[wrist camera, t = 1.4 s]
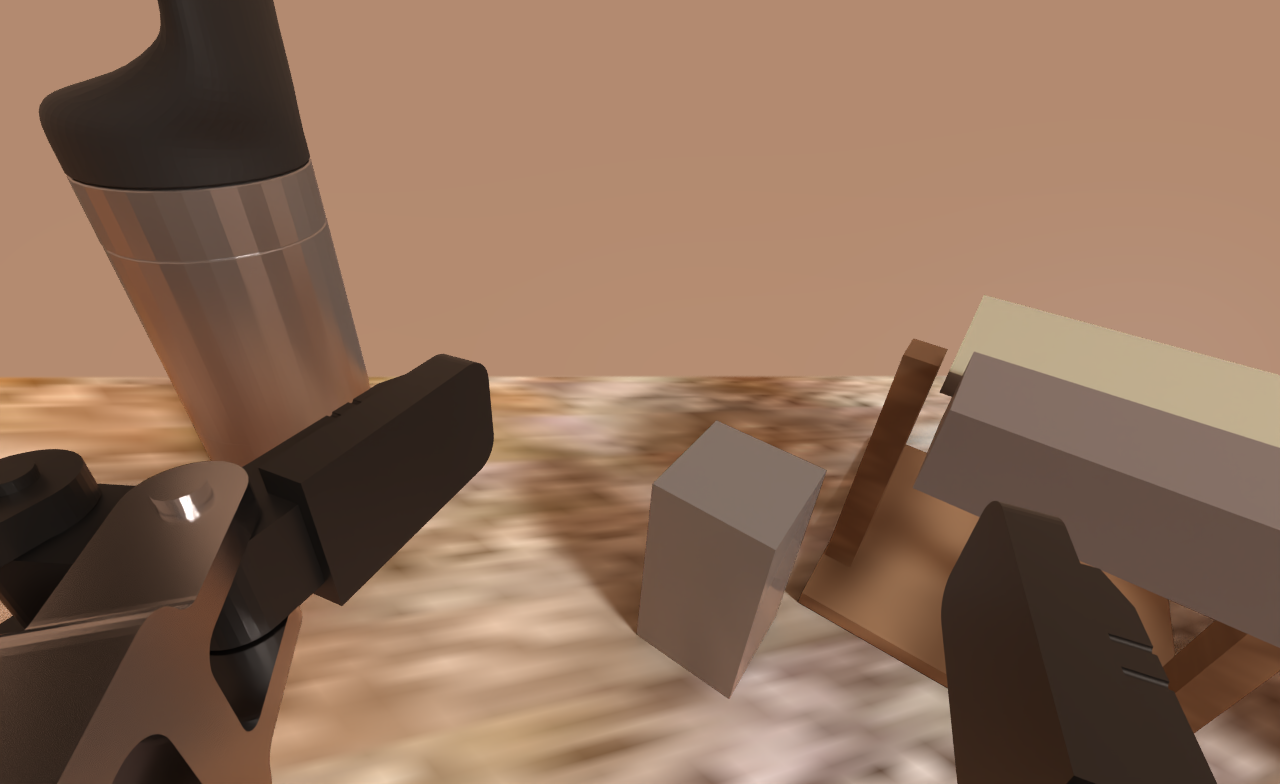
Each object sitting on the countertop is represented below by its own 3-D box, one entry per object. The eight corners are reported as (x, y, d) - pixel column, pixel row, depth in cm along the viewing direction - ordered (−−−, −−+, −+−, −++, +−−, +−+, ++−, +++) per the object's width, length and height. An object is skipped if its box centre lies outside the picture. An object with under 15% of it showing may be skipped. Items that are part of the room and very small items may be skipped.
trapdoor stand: (798, 602, 28) (880, 386, 21) (882, 445, 40) (956, 266, 32) (1181, 822, 21) (1520, 620, 14) (1153, 556, 33) (1333, 362, 25)
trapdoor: (898, 481, 21) (934, 403, 19) (966, 332, 31) (994, 272, 29) (1342, 675, 15) (1460, 596, 13) (1243, 415, 26) (1300, 349, 24)
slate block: (636, 634, 26) (652, 483, 21) (690, 566, 30) (716, 420, 24) (729, 699, 24) (775, 550, 19) (775, 617, 28) (826, 469, 22)
